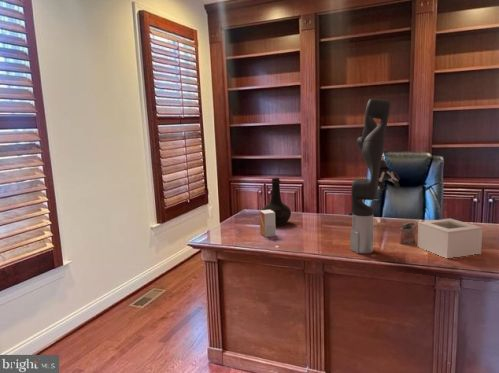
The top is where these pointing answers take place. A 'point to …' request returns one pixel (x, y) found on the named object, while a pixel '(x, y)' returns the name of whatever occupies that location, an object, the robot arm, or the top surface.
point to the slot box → (450, 238)
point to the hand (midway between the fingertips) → (391, 188)
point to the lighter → (407, 234)
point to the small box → (267, 223)
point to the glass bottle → (278, 204)
